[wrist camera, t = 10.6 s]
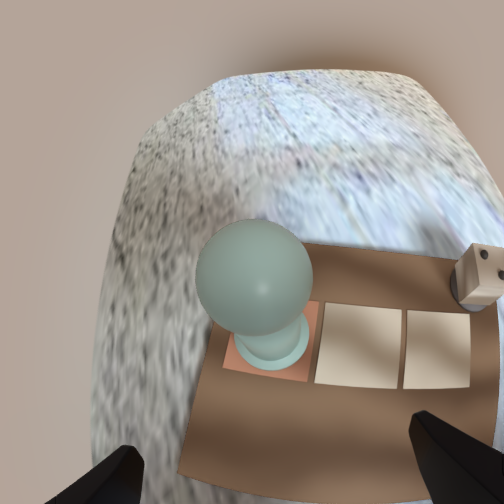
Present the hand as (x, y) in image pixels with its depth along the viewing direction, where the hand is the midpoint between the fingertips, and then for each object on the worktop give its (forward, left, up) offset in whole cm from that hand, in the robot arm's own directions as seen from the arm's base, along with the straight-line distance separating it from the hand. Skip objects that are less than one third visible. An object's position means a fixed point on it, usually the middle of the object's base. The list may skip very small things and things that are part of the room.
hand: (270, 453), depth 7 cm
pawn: (+6, +2, -11) cm, 13 cm away
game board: (+4, -5, -12) cm, 14 cm away
